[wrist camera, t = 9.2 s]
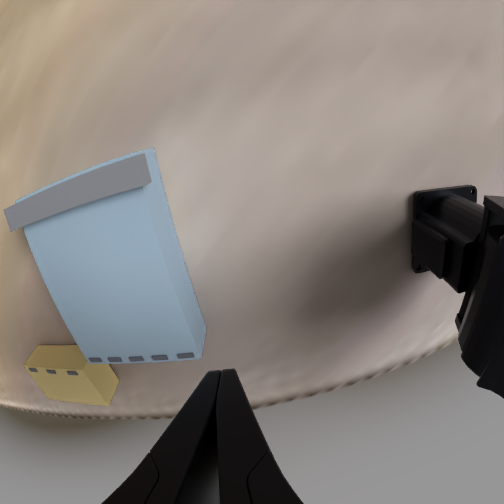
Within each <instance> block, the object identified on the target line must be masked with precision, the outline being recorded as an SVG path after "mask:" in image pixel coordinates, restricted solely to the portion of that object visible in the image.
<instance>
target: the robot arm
mask: <svg viewBox="0 0 504 504" xmlns="http://www.w3.org/2000/svg"><path fill="white" fill-rule="evenodd" d="M471 190H472V193H471ZM420 196H421V197H422V198H421V200H420V201H419V197H420ZM476 202H477V189H476V187H475V186H472V185H465V186H456V187H447V188H439V189H430V190H422V191H417V192H416V193H415V194H414V197H413V223H412V246H411V253H412V266H411V267H412V270H413V271H414V272H415V273H421V272H425V271H429V270H430V271H431V272H432V273H433V274H435V275H436V276H437V277H438V278H439V279H442V278H443V279H444V280H445V281H446V282H447V283H448V284H449V285H450V286H451V287H452V288H453V289H454V290H455V291H456V292H457V293H462V292H465V296H464V299H463V302H462V305H461V308H460V311H459V313H458V314H457V316H456V319H455V323H456V326H457V329H458V332H459V336H458V340H459V344H460V347H461V350H462V354H461V358H462V360H463V361H464V362H465V364H466V365H467V366H468V368H470V370H472V371H473V372H474V373H475V374H476V375H477V376H479V377H480V378H479V380H478V381H477V386H479V387H481V388H484V389H487V390H491V391H493V392H494V393H496V394H498V395H500V396H501V397H503V398H504V197H500V196H487V195H484V202H483V205H484V207H483V206H481V205H479V204H477V203H476ZM418 265H419V267H418V268H417V266H418ZM102 504H303V502H302V501H301V500H300V498H299V497H298V496H297V494H296V493H295V492H294V491H293V489H292V488H291V486H290V485H289V483H288V482H287V480H286V479H285V477H284V476H283V474H282V472H281V470H280V468H279V466H278V465H277V463H276V461H275V459H274V457H273V454H272V452H271V451H270V448H269V446H268V444H267V442H266V440H265V437H264V435H263V433H262V431H261V429H260V426H259V424H258V422H257V420H256V417H255V415H254V413H253V410H252V408H251V406H250V403H249V401H248V399H247V396H246V394H245V392H244V389H243V387H242V384H241V382H240V380H239V377H238V375H237V372H236V370H235V369H225V370H222V371H221V370H215V371H209V372H207V374H206V375H205V376H204V378H203V379H202V381H201V382H200V383H199V385H198V386H197V388H196V389H195V390H194V392H193V393H192V395H191V396H190V397H189V399H188V400H187V401H186V403H185V404H184V406H183V407H182V408H181V410H180V411H179V412H178V414H177V415H176V417H175V418H174V419H173V421H172V422H171V423H170V425H169V426H168V427H167V429H166V430H165V432H164V433H163V434H162V436H161V437H160V438H159V440H158V441H157V442H156V444H155V445H154V446H153V448H152V449H151V450H150V453H148V454H147V455H146V457H145V458H144V459H143V460H142V462H141V463H140V464H139V465H138V467H137V468H136V469H135V470H134V472H133V473H132V474H131V475H130V476H129V477H128V478H127V479H126V480H125V481H124V482H123V483H122V484H121V486H119V488H117V489H116V490H115V491H114V492H113V493H112V494H111V495H110V496H109V497H108V498H107V499H106V500H105V501H104V502H103V503H102Z"/></svg>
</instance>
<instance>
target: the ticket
mask: <svg viewBox="0 0 504 504" xmlns="http://www.w3.org/2000/svg"><path fill="white" fill-rule="evenodd" d="M4 213H5V216H6V219H7V222H8V225H9V228H10V231H14V230H16V229H19V228H21V227H23V230H24V232H25V235H26V238H27V241H28V244H29V246H30V249H31V251H32V254H33V256H34V259H35V261H36V264H37V266H38V269H39V271H40V273H41V276H42V278H43V280H44V282H45V284H46V287H47V289H48V291H49V293H50V295H51V297H52V299H53V301H54V303H55V305H56V307H57V309H58V311H59V313H60V315H61V317H62V319H63V320H64V322H65V324H66V326H67V328H68V329H69V331H70V333H71V335H72V336H73V338H74V340H75V341H76V343H77V345H78V346H79V348H80V350H81V351H82V353H83V355H84V356H85V358H86V359H87V361H88V362H89V364H127V363H152V362H169V361H182V360H194V359H201V357H202V352H203V346H204V340H205V335H206V329H207V328H206V325H205V322H204V319H203V316H202V314H201V311H200V308H199V305H198V302H197V299H196V296H195V293H194V290H193V287H192V283H191V280H190V277H189V274H188V271H187V268H186V264H185V261H184V258H183V255H182V251H181V248H180V245H179V241H178V238H177V234H176V231H175V227H174V224H173V220H172V217H171V213H170V209H169V206H168V202H167V198H166V195H165V191H164V187H163V183H162V179H161V175H160V171H159V167H158V163H157V159H156V154H155V150H154V148H151V149H147V150H143V151H138V152H134V153H131V154H128V155H125V156H122V157H119V158H116V159H113V160H110V161H107V162H105V163H102V164H99V165H96V166H94V167H91V168H88V169H86V170H83V171H81V172H78V173H76V174H73V175H71V176H68V177H66V178H64V179H61V180H59V181H57V182H54V183H52V184H50V185H48V186H45V187H43V188H41V189H39V190H37V191H35V192H33V193H30V194H28V195H26V196H24V197H22V198H20V199H18V200H16V201H15V204H14V205H12V206H10V207H8V208H6V209H5V210H4Z"/></svg>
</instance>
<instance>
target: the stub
mask: <svg viewBox="0 0 504 504" xmlns="http://www.w3.org/2000/svg"><path fill="white" fill-rule="evenodd" d="M23 366H24V368H25V369H26V370H27V372H28V373H29V374H30V376H31V377H32V379H33V380H34V381H35V382H36V384H37V385H38V386H39V388H40V389H41V390H42V391H43V393H44V394H45V395H46V396H47V398H48V399H53V400H59V401H66V402H74V403H82V404H91V405H101V406H109V405H110V403H111V400H112V398H113V395H114V393H115V390H116V388H117V385H118V383H119V379H118V378H117V376H116V375H115V373H114V372H113V370H112V369H111V367H110V366H109V364H89V362H88V361H87V359H86V358H85V356H84V355H83V353H82V351H81V350H80V348H79V346H78V345H38V346H37V347H36V349H35V350H34V351H33V353H32V354H31V355H30V357H29V358H28V360H27V361H26V363H25V364H24V365H23Z"/></svg>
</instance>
